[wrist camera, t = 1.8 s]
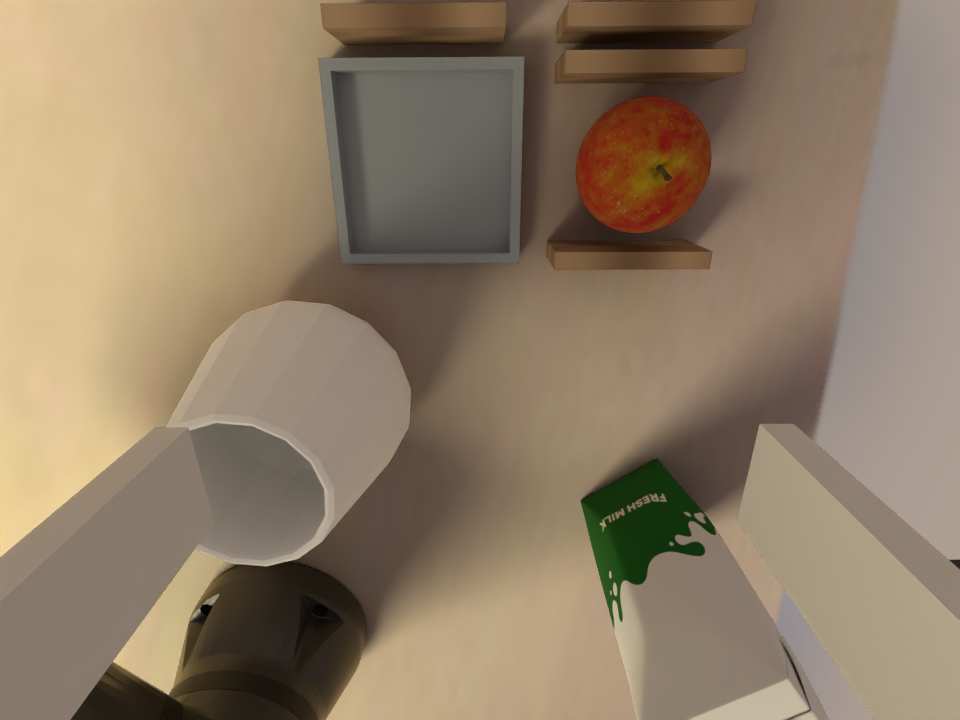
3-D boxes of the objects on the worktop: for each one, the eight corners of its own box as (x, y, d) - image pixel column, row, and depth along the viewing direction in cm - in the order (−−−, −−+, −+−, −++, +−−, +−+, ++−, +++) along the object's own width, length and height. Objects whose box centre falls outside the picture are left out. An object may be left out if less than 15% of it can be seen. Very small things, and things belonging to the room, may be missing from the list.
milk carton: (619, 566, 43) (722, 878, 24) (563, 496, 40) (632, 790, 22) (712, 519, 41) (901, 820, 22) (660, 442, 38) (828, 715, 20)
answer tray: (347, 258, 33) (341, 263, 31) (326, 62, 28) (317, 57, 27) (517, 258, 33) (519, 262, 31) (522, 61, 28) (524, 56, 27)
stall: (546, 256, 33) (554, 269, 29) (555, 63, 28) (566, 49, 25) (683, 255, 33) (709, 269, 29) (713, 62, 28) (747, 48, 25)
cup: (194, 338, 35) (26, 446, 22) (352, 248, 33) (266, 310, 20) (306, 478, 40) (221, 634, 27) (453, 408, 37) (437, 544, 24)
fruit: (566, 107, 29) (594, 92, 22) (685, 97, 29) (754, 79, 22) (567, 228, 32) (592, 251, 25) (676, 220, 32) (735, 240, 24)
